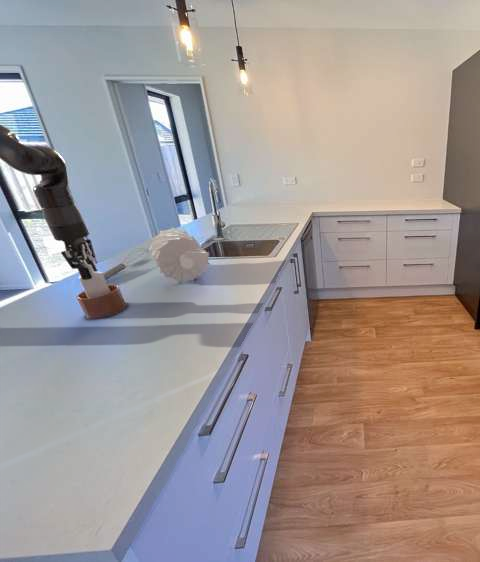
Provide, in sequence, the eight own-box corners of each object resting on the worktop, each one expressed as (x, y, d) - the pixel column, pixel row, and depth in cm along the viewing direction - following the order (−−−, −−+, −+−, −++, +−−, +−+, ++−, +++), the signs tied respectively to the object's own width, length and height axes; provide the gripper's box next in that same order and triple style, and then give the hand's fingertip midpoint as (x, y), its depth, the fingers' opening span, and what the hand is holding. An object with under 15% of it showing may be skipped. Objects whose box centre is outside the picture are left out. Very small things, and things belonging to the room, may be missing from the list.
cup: (80, 321, 92) (70, 301, 89) (93, 307, 101) (84, 288, 98) (121, 314, 96) (112, 294, 93) (129, 300, 104) (122, 282, 101)
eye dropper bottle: (92, 295, 97) (76, 260, 92) (113, 292, 99) (98, 258, 94) (86, 301, 93) (68, 265, 88) (107, 298, 95) (92, 262, 90)
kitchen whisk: (83, 288, 115) (76, 273, 112) (143, 258, 146) (139, 245, 143) (99, 287, 115) (93, 272, 112) (156, 257, 146) (152, 245, 143)
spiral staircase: (182, 294, 116) (169, 273, 133) (221, 266, 123) (204, 249, 139) (144, 260, 104) (135, 242, 121) (189, 230, 110) (174, 217, 127)
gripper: (60, 218, 90) (84, 270, 98) (35, 228, 79) (64, 287, 86) (91, 215, 93) (112, 266, 100) (71, 225, 81) (97, 282, 88)
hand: (90, 276), depth 93 cm, fingers closed on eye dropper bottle, 4 cm apart
